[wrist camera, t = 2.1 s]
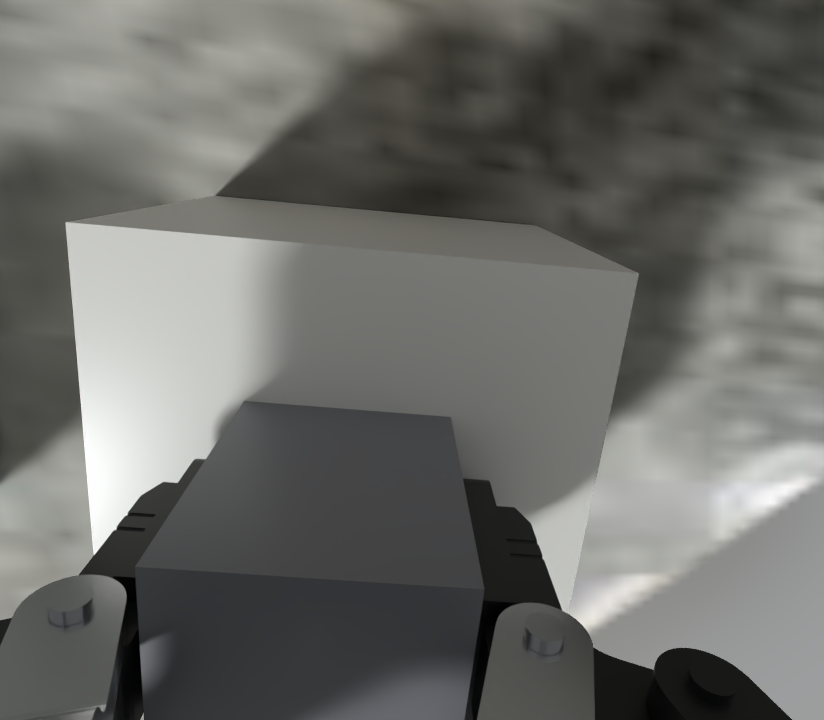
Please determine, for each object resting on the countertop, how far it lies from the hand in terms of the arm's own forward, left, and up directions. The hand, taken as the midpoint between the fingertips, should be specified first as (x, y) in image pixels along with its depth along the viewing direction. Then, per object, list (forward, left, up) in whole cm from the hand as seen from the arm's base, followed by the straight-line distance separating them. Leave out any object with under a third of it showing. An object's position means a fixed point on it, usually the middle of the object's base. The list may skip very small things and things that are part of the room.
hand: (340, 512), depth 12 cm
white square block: (0, 0, -9) cm, 9 cm away
